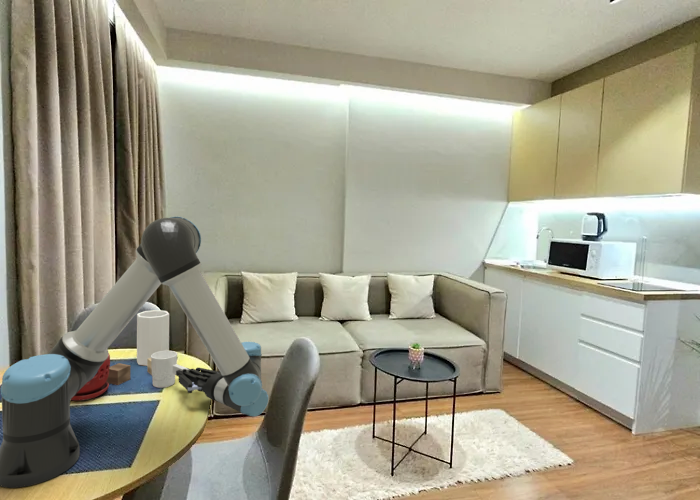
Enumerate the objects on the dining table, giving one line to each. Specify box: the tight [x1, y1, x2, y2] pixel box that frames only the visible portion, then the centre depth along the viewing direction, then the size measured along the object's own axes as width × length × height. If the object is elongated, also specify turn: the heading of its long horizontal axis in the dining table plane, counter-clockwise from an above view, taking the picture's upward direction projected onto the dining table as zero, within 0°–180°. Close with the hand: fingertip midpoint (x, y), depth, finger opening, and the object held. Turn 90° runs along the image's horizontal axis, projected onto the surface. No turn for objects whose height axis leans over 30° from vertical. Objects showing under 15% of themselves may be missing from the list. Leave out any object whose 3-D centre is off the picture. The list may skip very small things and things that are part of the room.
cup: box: [136, 309, 170, 367], centre depth 149 cm, size 11×11×18 cm
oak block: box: [146, 358, 152, 376], centre depth 139 cm, size 5×5×5 cm
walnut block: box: [106, 362, 132, 386], centre depth 131 cm, size 5×5×5 cm
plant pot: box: [70, 354, 111, 402], centre depth 120 cm, size 13×13×12 cm
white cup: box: [151, 350, 178, 389], centre depth 131 cm, size 8×8×10 cm
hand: (174, 368), depth 128 cm, fingers closed
